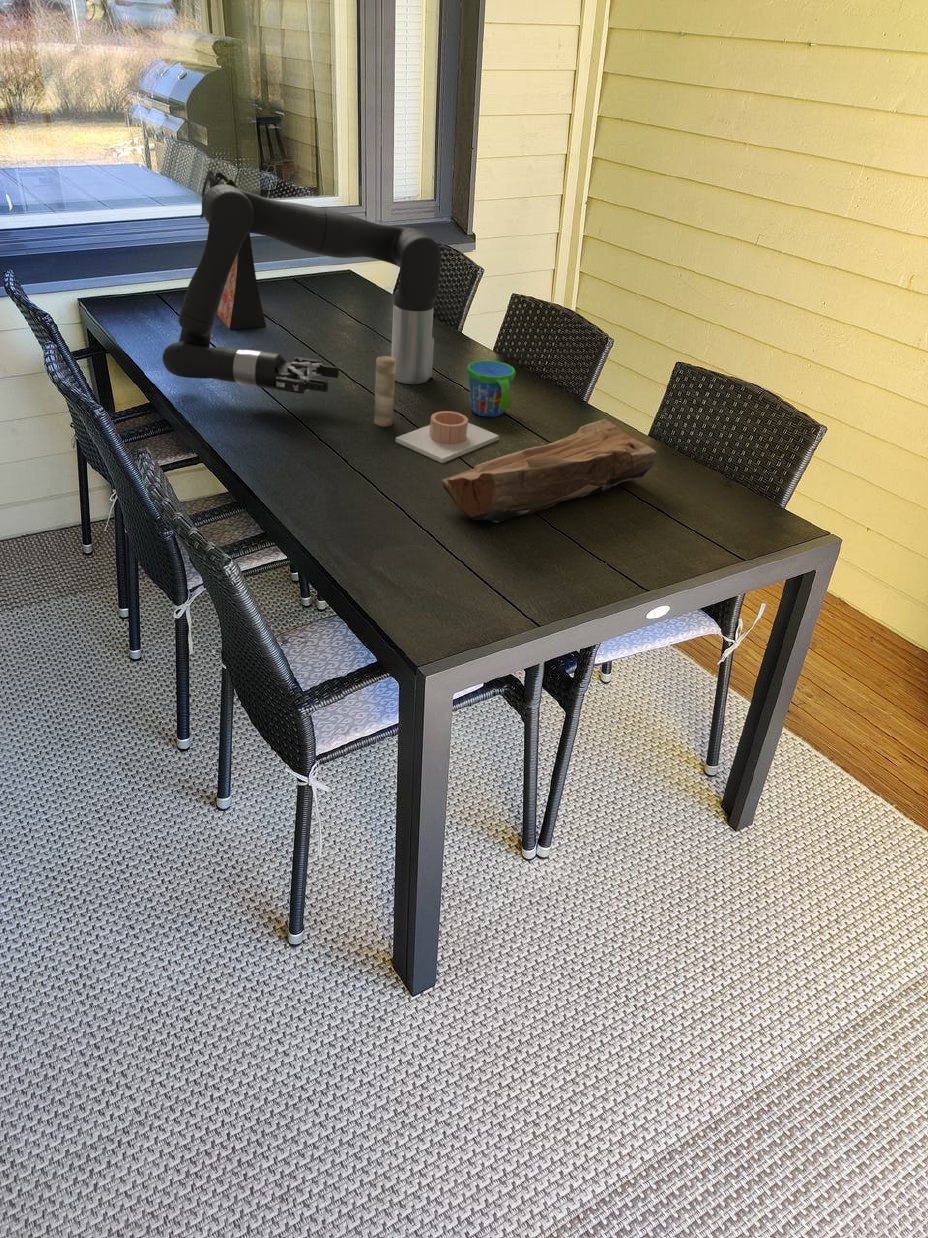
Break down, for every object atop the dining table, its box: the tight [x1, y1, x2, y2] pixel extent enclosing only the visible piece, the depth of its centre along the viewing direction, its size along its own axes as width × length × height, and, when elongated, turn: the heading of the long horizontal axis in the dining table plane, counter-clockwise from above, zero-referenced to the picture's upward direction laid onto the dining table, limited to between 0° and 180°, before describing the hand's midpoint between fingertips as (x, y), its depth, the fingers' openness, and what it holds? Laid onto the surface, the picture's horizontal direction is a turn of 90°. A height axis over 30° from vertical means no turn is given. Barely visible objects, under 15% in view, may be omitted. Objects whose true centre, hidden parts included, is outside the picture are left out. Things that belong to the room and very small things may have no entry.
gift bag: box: [199, 170, 267, 330], centre depth 251 cm, size 29×14×35 cm, turn 27°
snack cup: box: [466, 359, 517, 418], centre depth 218 cm, size 16×10×10 cm
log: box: [441, 418, 657, 523], centre depth 186 cm, size 42×18×15 cm, turn 126°
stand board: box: [395, 422, 500, 464], centre depth 206 cm, size 18×13×1 cm
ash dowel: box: [373, 355, 396, 428], centre depth 207 cm, size 4×4×14 cm
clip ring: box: [429, 410, 469, 444], centre depth 204 cm, size 8×8×4 cm
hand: (333, 379), depth 207 cm, fingers open, 8 cm apart
